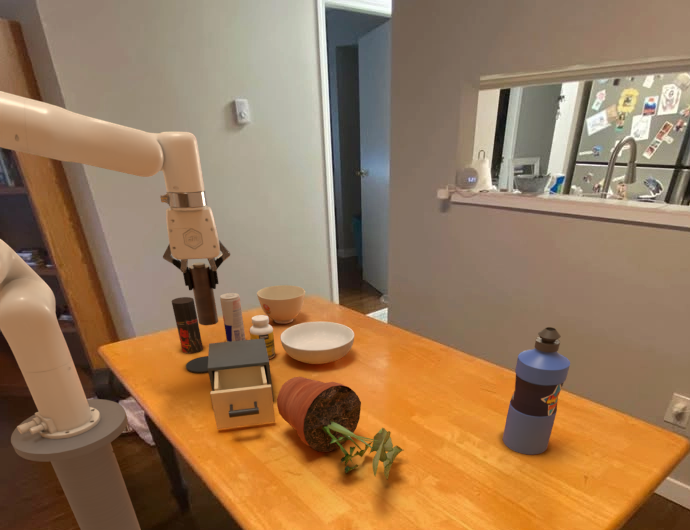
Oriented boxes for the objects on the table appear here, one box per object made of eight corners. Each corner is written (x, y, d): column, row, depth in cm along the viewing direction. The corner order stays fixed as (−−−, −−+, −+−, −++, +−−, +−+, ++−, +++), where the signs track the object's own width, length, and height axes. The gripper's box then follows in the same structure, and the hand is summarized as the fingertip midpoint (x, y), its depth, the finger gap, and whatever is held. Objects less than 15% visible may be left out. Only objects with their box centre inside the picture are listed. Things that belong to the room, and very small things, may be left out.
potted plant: (270, 443, 99) (382, 521, 75) (262, 377, 92) (383, 440, 68) (327, 422, 108) (444, 485, 84) (324, 360, 101) (450, 410, 78)
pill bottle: (255, 362, 130) (250, 323, 124) (250, 354, 135) (245, 315, 129) (278, 358, 132) (274, 319, 126) (272, 350, 137) (268, 312, 131)
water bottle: (556, 442, 97) (587, 329, 84) (534, 460, 91) (563, 343, 78) (516, 424, 102) (539, 316, 89) (493, 441, 97) (514, 328, 84)
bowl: (315, 323, 157) (313, 294, 151) (271, 332, 149) (267, 302, 144) (295, 310, 168) (292, 282, 163) (253, 318, 161) (249, 289, 156)
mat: (202, 376, 122) (201, 374, 122) (178, 367, 127) (178, 365, 127) (231, 363, 129) (230, 361, 129) (207, 355, 134) (207, 353, 134)
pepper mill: (207, 326, 107) (196, 267, 100) (195, 322, 109) (184, 264, 102) (222, 321, 110) (213, 263, 103) (210, 317, 112) (200, 260, 105)
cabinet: (273, 401, 111) (269, 361, 105) (215, 408, 108) (207, 368, 103) (268, 375, 123) (264, 338, 118) (215, 381, 120) (208, 343, 115)
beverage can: (246, 339, 145) (239, 291, 137) (245, 346, 140) (238, 297, 132) (228, 340, 144) (220, 292, 136) (226, 347, 139) (218, 298, 131)
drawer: (277, 432, 98) (273, 396, 94) (217, 440, 96) (210, 403, 91) (269, 393, 113) (265, 360, 108) (217, 399, 110) (211, 366, 105)
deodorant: (206, 349, 138) (197, 300, 130) (188, 355, 134) (177, 305, 126) (196, 344, 141) (187, 295, 133) (178, 349, 138) (167, 300, 130)
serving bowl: (268, 355, 134) (265, 333, 130) (324, 337, 146) (323, 316, 142) (311, 380, 121) (310, 355, 117) (369, 357, 133) (369, 335, 129)
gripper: (141, 204, 91) (161, 295, 101) (229, 202, 95) (240, 290, 104) (147, 199, 97) (166, 285, 107) (229, 198, 101) (240, 281, 110)
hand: (202, 287), depth 105 cm, fingers closed on pepper mill, 4 cm apart
